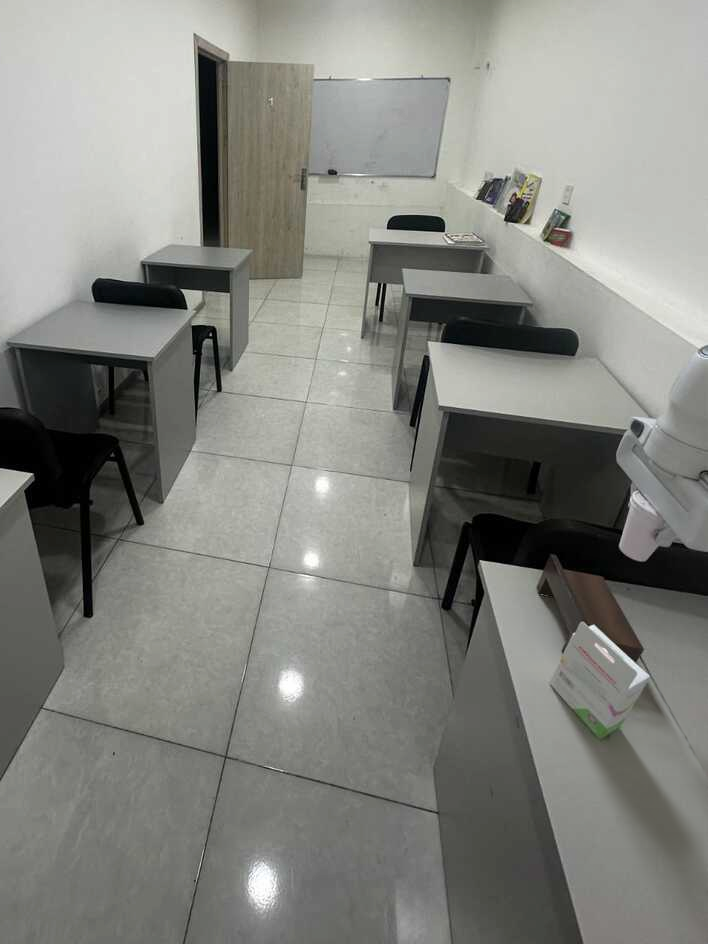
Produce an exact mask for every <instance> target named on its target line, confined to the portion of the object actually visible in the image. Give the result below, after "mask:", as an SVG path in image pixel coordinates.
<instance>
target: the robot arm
mask: <svg viewBox="0 0 708 944" xmlns="http://www.w3.org/2000/svg"><path fill="white" fill-rule="evenodd" d="M627 428H628V429H627V430H626V431H625V432H624V434H623V436H622V438H621V440H620V443H619V445H618V448H617V450H616V454H615V456H616V457H615V458H616V463H617V465H619V467H620V468H621V469H622V470H623V472H624V473H625V474H626V475H627V477H628V478H629V479H630V481H631V483H630V497H631V496H632V495H633V493H634V492H635V491H638V490H640V491H641V492H642V493H643V495H644V496H645V497H646V498H647V500H648V501H649V502H650V503H651V504H652V506H653V507H654V508H655V509H656V511H657V512H658V513H659V514H660V515H661V517H662V518H663V519H664V520H665V521H666V522H665V524H664V527H665V528H666V529H664V530H657V529H655V530H654V532H653V534H652V536H651V537H652V538H653V540H654V541H655V542H656V544H657V545H658V547H664V548H669V547H670V546H671V545H672V544H673V542H674V540H676V539H679V540H680V541H681V542H682V543H683V545H684V546H685V547H686V548H688V549H690V550H694V551H699V552H704V553H705V552H706V553H708V344H706V345H704V346H702V347H700V348H698V349H697V350H695V352H693V354H692V355H690V357H689V358H688V360H687V361H686V363H685V364H684V365H683V367H682V369H681V370H680V372H679V374H678V375H677V377H676V379H675V380H674V382H673V384H672V387H671V388H670V391H669V393H668V395H667V404H666V407H665V409H664V411H662V412H661V413H660V414H659V415H658V416H657V418H650V417H643V416H641V417H640V416H630V418H629V420H628V424H627ZM630 506H631V501H630V500H629V502H628V504H627V507H628V509H630Z"/></svg>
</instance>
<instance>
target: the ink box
mask: <svg viewBox="0 0 708 944" xmlns="http://www.w3.org/2000/svg"><path fill="white" fill-rule="evenodd" d="M650 678H651V676H650V675H649V674H648V673H647V672H646V671H645V670H644V669H642V668H641V667H640V666H639V664H637V662H636V663H635V662H634V661H633V660H632V659H630V658H629V657H628V656H627V655H626V654H625V653H624V652H623V651H622V650H621V649H620V648H618V647H617V646H616V645H615V644H614V643H613V642H612V641H611V640H610V639H609V638H608V637H607V636H606V635H604V634H603V633H602V632H601V631H600V630H599V629H598V628H597V627H596V626H595V625H591V626H589V627H588V626H587V625H586V624H585V623H584V622H581V623H580V624H579V626H578V628H577V630H576V632H575V633H573V635H572V637H571V639H570V641H569V643H568V645H567V647H566V649H565V651H564V653H563V654H562V656H561V657H560V660H559V662H558V663H557V665H556V667H555V670H554V672H553V673H552V676H551V678H550V680H549V685H550V686H551V687H552V688H553V690H554V691H555V692H556V693H557V694H558V695H559V696H560V697H561V698H562V699H563V700H564V702H565V703H566V704H567V705H568V706H569V707H570V708H571V710H573V712H574V713H575V714H576V715H577V716H578V717H579V719H580V720H581V721H582V722H583V723H584V725H586V726H587V728H588V729H589V730H590V731H591V732H592V733H593V734H594V736H596V738H597V739H598V740H600V741H601V740H602V739H604V738H605V737H606V736H608V735H610V734H611V733H613V732H614V731H616V730H617V729H619V728H621V726H622V724H623V723H624V721H625V720H626V718H627V717H628V715H629V714H630V712H631V710H632V708H633V707H634V705H635V703H636V702H637V700H638V699H639V697H640V696H641V693H643V690H644V688H645V687H646V685H647V684H648V682H649V680H650Z"/></svg>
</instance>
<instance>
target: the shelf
mask: <svg viewBox="0 0 708 944" xmlns="http://www.w3.org/2000/svg"><path fill="white" fill-rule="evenodd" d="M536 588H537V590H538V592H537V594H538V593H539V594H543V595H548V596H552V597H551V598H553V597H555V598H554V599H555V603H556V604H557V606H558V609H559V611H560V613H561V616H562V618H563V620H564V622H565V624H566V627H567V630H568V631H569V634H568V637H567V638H566V640H565V642H564V645H563V646H562V648H561V650H560V651H561V653H562V655H563V653H564V651H565V649H566V647H567V645H568V643H569V641H570V639H571V637H572V635H573V633H575V632H576V630H577V628H578V626H579V624H580V623H581V622H584V623H585V624H586V625H587V626H588V627H589V626H591V625H595V626H596V627H597V628H598V629H599V630H600V631H601V632H602V633H603V634H604V635H606V636H607V637H608V638H609V639H610V640H611V641H612V642H613V643H614V644H615V645H616V646H617V647H618V648H620V649H621V650H622V651H623V652H624V653H625V654H626V655H627V656H628V657H629V658H630V659H632V660H633V661H634V662H635V663H636V664H637V662H638V661H639V658H640V657H641V655H642V654H643V653H644V650H645V648H644V646H643V645H642V643H641V641H640V640H639V638H638V636H637V634H636V633H635V631H634V628H633V627H632V626H631V624H630V622H629V620H628V618H627V617H626V615H625V613H624V611H623V609H622V608H621V606H620V604H619V603H618V601H617V599H616V597H615V596H614V594H613V592H612V590H611V589H610V587H609V585H608V583H607V581H606V580H605V578H604V576H601V575H597V574H590V573H585V572H580V571H574V570H569V569H564V568H563V566H562V563H561V562H560V559H559V558H558V556H557V555H556V554H552V553H551V554H549V557H548V559H547V561H546V564H545V566H544V568H543V570H542V573H541V575H540V578H539V580H538V583H537V584H536V587H535V589H536ZM537 590H536V591H537ZM543 595H542V596H543ZM548 596H547V597H548Z"/></svg>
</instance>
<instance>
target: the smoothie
mask: <svg viewBox="0 0 708 944" xmlns="http://www.w3.org/2000/svg"><path fill="white" fill-rule="evenodd" d="M630 501H631V506H630V508H628V509H629V510H628V513H627V517H626V520H625V523H624V528H623V531H622V535H621V537H620V541H619V544H618V548H619V550H620V551H621V552H622V553H623V554H624V555H625V556H626V557H628V558H630V559H631V560H634V561H637V562H646V561H647V560H648V559H650V557H651V556H652V554H653V553H654V552H655V551H656V550H657V549H658V547H659V546H658V545H657V544H656V542H655V541H654V540H653V538H652V537H651V536H652V534H653V532H654V530H655V529H657V530H664V529H666V528H665V527H664V524H665V522H666V521H665V520H664V519H663V518H662V517H661V515H660V514H659V513H658V512H657V511H656V509H655V508H654V507H653V506H652V504H651V503H650V502H649V501H648V500H647V498H646V497H645V496H644V495H643V493H642V492H641V491H640V490H638V491H635V492H634V493H633V495H632V496H631V495H630V497H629V502H630Z"/></svg>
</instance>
